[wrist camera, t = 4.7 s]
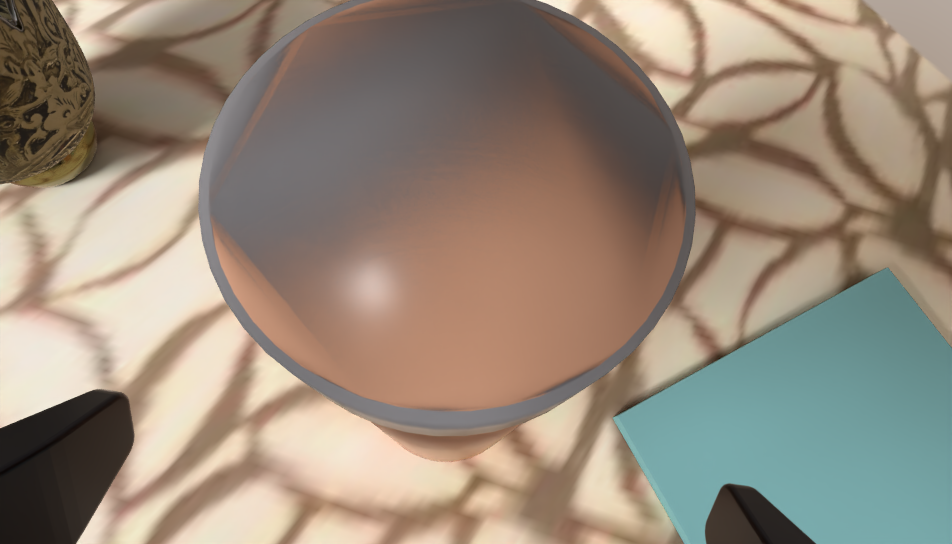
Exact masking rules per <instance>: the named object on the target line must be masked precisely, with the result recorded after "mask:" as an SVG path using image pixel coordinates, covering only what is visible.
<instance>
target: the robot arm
mask: <svg viewBox="0 0 952 544" xmlns="http://www.w3.org/2000/svg"><path fill="white" fill-rule="evenodd" d="M133 443H134V429H133V422H132V416H131V410H130V403H129V399H128V397H127V396H126V395H125V394H124V393H122V392H117V391H110V390H103V389H96V390H92V391H90V392H87V393H85V394H82V395H80V396H77V397H75V398H73V399H70V400H68V401H65V402H63V403H61V404H58V405H56V406H53V407H51V408H48V409H46V410H44V411H41V412H39V413H36V414H34V415H32V416H29V417H27V418H24V419H22V420H19V421H17V422H15V423H12V424H10V425H7V426H5V427H2V428H0V544H76V543H77V541H78V540H79V538H80V536H81V535H82V533H83V532H84V530H85V528H86V527H87V525H88V523H89V521H90V520H91V518H92V516H93V515H94V513H95V511H96V510H97V508H98V506H99V504H100V503H101V501H102V499H103V498H104V496H105V494H106V492H107V491H108V489H109V487H110V486H111V484H112V482H113V480H114V479H115V477H116V475H117V474H118V472H119V470H120V469H121V467H122V465H123V463H124V462H125V460H126V458H127V457H128V455H129V453H130V451H131V449H132V446H133ZM705 539H706V544H816V543H815V542H814V541H813V540H812V539H811V538H810V537H808V536H807V535H806V534H805V533H804V532H803V531H802V530H801V529H800V528H798V527H797V526H796V525H795V524H794V523H793V522H792V521H791V520H790V519H788V518H787V517H786V516H785V515H784V514H783V513H782V512H781V511H780V510H779V509H777V508H776V507H775V506H774V505H773V504H772V503H771V502H770V501H769V500H767V499H766V498H765V497H764V496H763V495H762V494H761V493H760V492H759V491H757V490H756V489H755V488H753V487H750V486H745V485H738V484H731V483H728V484H724V485H723V486H722V487H721V489H720V490H719V493H718V495H717V497H716V500H715V502H714V504H713V506H712V509H711V511H710V513H709V516H708V518H707V521H706V525H705Z"/></svg>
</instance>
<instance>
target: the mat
mask: <svg viewBox="0 0 952 544" xmlns="http://www.w3.org/2000/svg"><path fill="white" fill-rule="evenodd" d="M613 419H614V421H615V423H616V425H617V426H618V428H619V430H620V432H621V433H622V435H623V437H624V439H625V440H626V442H627V444H628V446H629V447H630V449H631V451H632V453H633V454H634V456H635V458H636V460H637V461H638V463H639V465H640V467H641V468H642V470H643V472H644V474H645V475H646V477H647V479H648V481H649V482H650V484H651V486H652V488H653V490H654V491H655V493H656V495H657V497H658V498H659V500H660V502H661V504H662V505H663V507H664V509H665V511H666V512H667V514H668V516H669V518H670V519H671V521H672V523H673V525H674V526H675V528H676V530H677V532H678V533H679V535H680V537H681V539H682V540H683V542H684V544H706V539H705V525H706V521H707V518H708V516H709V513H710V511H711V509H712V506H713V504H714V502H715V500H716V497H717V495H718V493H719V490H720V489H721V487H722V486H723V485H724V484H728V483H731V484H738V485H745V486H750V487H753V488H755V489H756V490H757V491H759V492H760V493H761V494H762V495H763V496H764V497H765V498H766V499H767V500H769V501H770V502H771V503H772V504H773V505H774V506H775V507H776V508H777V509H779V510H780V511H781V512H782V513H783V514H784V515H785V516H786V517H787V518H788V519H790V520H791V521H792V522H793V523H794V524H795V525H796V526H797V527H798V528H800V529H801V530H802V531H803V532H804V533H805V534H806V535H807V536H808V537H810V538H811V539H812V540H813V541H814V542H815V543H816V544H952V348H951V346H950V345H949V344H948V343H947V341H946V340H945V339H944V338H943V336H942V335H941V334H940V333H939V331H938V330H937V329H936V328H935V326H934V325H933V324H932V322H931V321H930V320H929V319H928V317H927V316H926V315H925V314H924V312H923V311H922V310H921V309H920V307H919V306H918V305H917V303H916V302H915V301H914V300H913V298H912V297H911V296H910V295H909V293H908V292H907V291H906V290H905V288H904V287H903V286H902V285H901V283H900V282H899V281H898V279H897V278H896V277H895V276H894V274H893V273H892V272H891V271H890V269H889V268H885V269H883V270H881V271H879V272H877V273H875V274H873V275H872V276H870V277H868V278H866V279H864V280H862V281H861V282H859V283H857V284H855V285H853V286H851V287H850V288H848V289H846V290H844V291H842V292H841V293H839V294H837V295H835V296H833V297H831V298H830V299H828V300H826V301H824V302H822V303H821V304H819V305H817V306H815V307H813V308H811V309H810V310H808V311H806V312H804V313H802V314H801V315H799V316H797V317H795V318H793V319H791V320H790V321H788V322H786V323H784V324H782V325H780V326H779V327H777V328H775V329H773V330H771V331H770V332H768V333H766V334H764V335H762V336H760V337H759V338H757V339H755V340H753V341H751V342H750V343H748V344H746V345H744V346H742V347H740V348H739V349H737V350H735V351H733V352H731V353H730V354H728V355H726V356H724V357H722V358H720V359H719V360H717V361H715V362H713V363H711V364H709V365H708V366H706V367H704V368H702V369H700V370H699V371H697V372H695V373H693V374H691V375H689V376H688V377H686V378H684V379H682V380H680V381H679V382H677V383H675V384H673V385H671V386H669V387H668V388H666V389H664V390H662V391H660V392H659V393H657V394H655V395H653V396H651V397H649V398H648V399H646V400H644V401H642V402H640V403H638V404H637V405H635V406H633V407H631V408H629V409H628V410H626V411H624V412H622V413H620V414H618V415H617V416H615V417H613Z"/></svg>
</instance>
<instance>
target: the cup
mask: <svg viewBox="0 0 952 544" xmlns="http://www.w3.org/2000/svg"><path fill="white" fill-rule="evenodd" d="M94 101H95V92H94V85H93V79H92V75H91V71H90V68H89V66H88V63H87V61H86V58H85V56H84V54H83V52H82V50H81V48H80V46H79V44H78V42H77V40H76V38H75V37H74V35H73V33H72V31H71V30H70V28H69V26H68V25H67V23H66V22H65V20H64V18H63V17H62V15H61V14H60V12H59V10H58V9H57V7H56V6H55V4H54V3H53V1H52V0H0V184H5V183H12V184H16V185H20V186H25V187H32V188H47V187H53V186H57V185H60V184H63V183H66V182H68V181H70V180H72V179H73V178H75V177H76V176H78V175H79V174H80V173H82V172H83V171H84V170H85V169H86V168H87V166H88V165H89V164H90V162H91V161H92V159H93V157H94V155H95V152H96V148H97V135H96V130H95V127H94V124H93V121H92V116H93V110H94Z"/></svg>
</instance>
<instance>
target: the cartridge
mask: <svg viewBox="0 0 952 544" xmlns="http://www.w3.org/2000/svg"><path fill="white" fill-rule="evenodd" d="M198 211H199V219H200V226H201V234H202V241H203V245H204V248H205V252H206V255H207V259H208V262H209V265H210V269H211V272H212V274H213V276H214V278H215V280H216V282H217V284H218V287H219V289H220V291H221V293H222V295H223V297H224V299H225V301H226V303H227V304H228V305H229V307H230V308H231V310H232V311H233V313H234V314H235V316H236V317H237V319H238V320H239V322H240V323H241V325H242V326H243V328H244V329H245V330H246V331H247V332H248V333H249V334H250V335H251V336H252V338H253V339H254V340H255V341H256V342H257V343H258V344H259V345H260V346H261V347H262V348H263V350H264V351H265V352H266V353H267V354H269V355H270V356H271V357H272V358H273V359H275V360H276V361H277V362H278V363H280V364H281V365H282V366H283V367H285V368H286V369H287V370H288V371H289V372H291V373H292V374H293V375H294V376H296V377H297V378H299V379H300V380H302V381H303V382H304V383H306V384H307V385H309V386H310V387H312V388H313V389H314V390H316V391H317V392H319V393H320V394H322V395H323V396H324V397H326V398H327V399H329V400H330V401H332V402H334V403H336V404H337V405H339V406H341V407H342V408H344V409H346V410H347V411H349V412H351V413H352V414H354V415H357V416H359V417H361V418H364V419H366V420H369V421H371V422H372V423H373V424H374V425H376V426H377V427H378V428H379V429H381V430H382V431H383V432H384V433H386V434H387V435H388V436H389V437H391V438H392V439H393V440H394V441H396V442H397V443H398V444H399V445H401V446H402V447H403V448H404V449H406V450H408V451H409V452H411V453H413V454H415V455H417V456H420V457H422V458H425V459H429V460H433V461H441V462H453V461H459V460H464V459H468V458H471V457H474V456H476V455H478V454H480V453H482V452H484V451H485V450H487V449H488V448H490V447H491V446H493V445H494V444H495V443H497V442H498V441H499V440H501V439H502V438H503V437H505V436H506V435H507V434H509V433H510V432H511V431H513V430H514V429H515V428H517V427H518V426H519V425H521V424H522V423H524V422H527V421H529V420H531V419H533V418H536V417H538V416H540V415H542V414H545V413H547V412H549V411H550V410H552V409H553V408H555V407H557V406H558V405H560V404H561V403H563V402H565V401H566V400H568V399H569V398H571V397H573V396H574V395H576V394H577V393H579V392H580V391H582V390H583V389H585V388H586V387H588V386H589V385H591V384H592V383H594V382H595V381H597V380H598V379H600V378H601V377H603V376H604V375H606V374H607V373H608V372H609V371H611V370H612V369H613V368H614V367H615V366H617V365H618V364H619V363H620V362H621V361H622V360H624V359H625V358H626V357H627V356H628V355H630V354H631V353H632V352H633V351H634V350H635V349H636V348H637V346H638V345H639V344H640V343H641V342H642V341H643V340H644V338H645V337H646V336H647V335H648V334H649V333H650V332H651V330H652V329H653V328H654V327H655V325H656V324H657V322H658V321H659V319H660V318H661V316H662V315H663V313H664V312H665V310H666V308H667V307H668V305H669V304H670V302H671V301H672V298H673V296H674V294H675V292H676V290H677V287H678V285H679V283H680V281H681V278H682V276H683V274H684V271H685V268H686V264H687V260H688V257H689V253H690V250H691V246H692V240H693V232H694V224H695V186H694V180H693V174H692V168H691V162H690V158H689V155H688V152H687V149H686V146H685V143H684V139H683V136H682V133H681V131H680V129H679V127H678V125H677V123H676V121H675V119H674V116H673V114H672V112H671V110H670V108H669V107H668V105H667V104H666V102H665V100H664V99H663V97H662V96H661V94H660V93H659V91H658V90H657V88H656V86H655V85H654V84H653V83H652V82H651V80H650V79H649V78H648V77H647V76H646V74H645V73H644V72H643V71H642V70H641V68H640V67H639V66H638V65H637V64H636V63H635V62H634V61H633V60H632V59H631V58H630V57H629V56H628V55H627V54H626V53H625V52H624V51H622V50H621V49H620V48H619V47H618V46H617V45H616V44H614V43H613V42H612V41H610V40H609V39H608V38H606V37H605V36H604V35H602V34H601V33H600V32H598V31H597V30H596V29H594V28H592V27H591V26H589V25H587V24H586V23H584V22H582V21H581V20H579V19H577V18H576V17H574V16H572V15H570V14H568V13H566V12H563V11H561V10H559V9H557V8H555V7H553V6H551V5H548V4H546V3H543V2H540V1H537V0H351V1H348V2H346V3H343V4H341V5H338V6H336V7H333V8H331V9H329V10H327V11H325V12H323V13H321V14H319V15H317V16H315V17H313V18H312V19H310V20H308V21H306V22H304V23H303V24H301V25H300V26H298V27H297V28H296V29H294V30H293V31H291V32H290V33H288V34H287V35H285V36H284V37H282V38H281V39H280V40H279V41H278V42H277V43H275V44H274V45H273V46H272V47H271V48H270V49H268V50H267V51H266V52H265V53H264V54H263V55H262V56H261V57H260V58H259V59H258V60H257V61H256V62H255V63H254V64H253V65H252V67H251V68H250V69H249V70H248V71H247V72H246V73H245V74H244V75H243V77H242V78H241V79H240V81H239V82H238V84H237V85H236V87H235V88H234V90H233V91H232V93H231V94H230V95H229V97H228V98H227V100H226V102H225V104H224V106H223V108H222V110H221V112H220V114H219V116H218V118H217V120H216V122H215V124H214V126H213V129H212V132H211V135H210V137H209V140H208V143H207V146H206V149H205V152H204V158H203V163H202V169H201V174H200V180H199V210H198Z"/></svg>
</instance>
